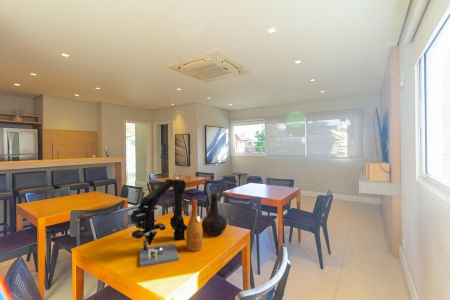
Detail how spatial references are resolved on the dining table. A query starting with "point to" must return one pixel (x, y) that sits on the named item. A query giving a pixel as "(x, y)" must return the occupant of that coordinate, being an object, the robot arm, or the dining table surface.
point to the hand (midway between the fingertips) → (149, 244)
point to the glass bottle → (214, 219)
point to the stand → (158, 255)
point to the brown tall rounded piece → (194, 230)
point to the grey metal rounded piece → (158, 248)
